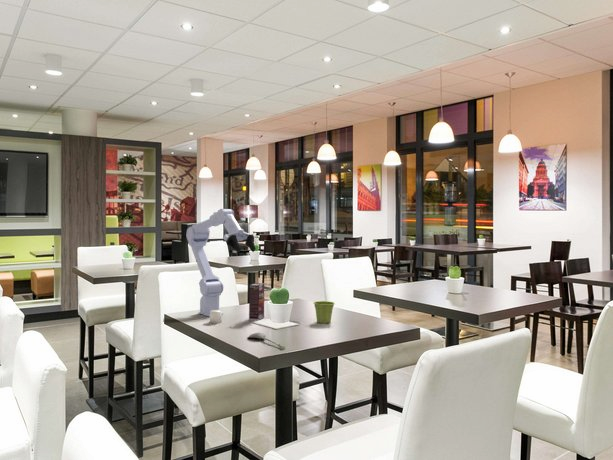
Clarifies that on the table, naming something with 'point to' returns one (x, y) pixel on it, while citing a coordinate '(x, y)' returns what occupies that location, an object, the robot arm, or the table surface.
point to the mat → (274, 324)
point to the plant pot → (324, 311)
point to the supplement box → (256, 301)
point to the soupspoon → (262, 336)
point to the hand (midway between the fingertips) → (247, 250)
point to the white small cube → (215, 316)
